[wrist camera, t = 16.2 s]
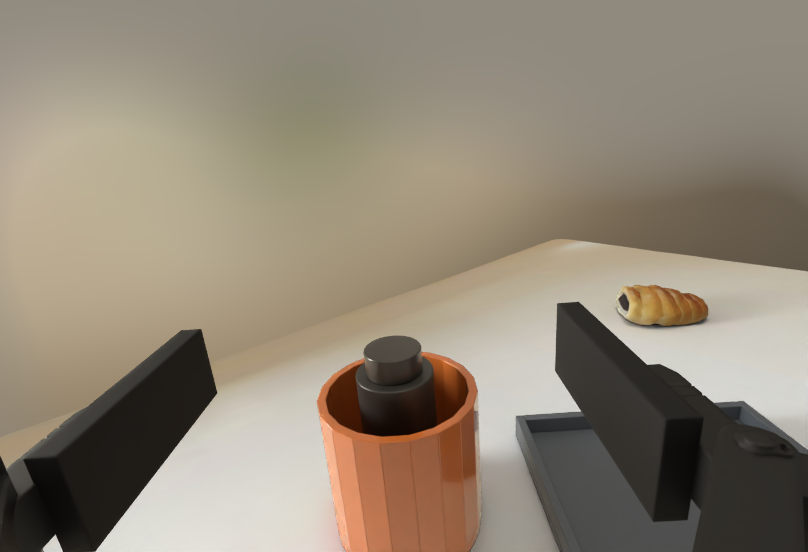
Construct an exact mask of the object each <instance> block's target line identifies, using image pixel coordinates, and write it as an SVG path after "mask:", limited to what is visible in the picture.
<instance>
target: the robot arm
mask: <svg viewBox="0 0 808 552" xmlns="http://www.w3.org/2000/svg"><path fill="white" fill-rule="evenodd" d="M555 371H556V373H557V374H558V376H559V377H560V379H561V381H562V382H563V384H564V385H565V387H566V388H567V390H568V391H569V393H570V394H571V396H572V397H573V399H574V401H575V402H576V404H577V405H578V407H579V408H580V410H581V411H582V413H583V414H584V416H585V418H586V419H587V421H588V422H589V424H590V425H591V427H592V428H593V430H594V431H595V433H596V434H597V436H598V438H599V439H600V441H601V442H602V444H603V445H604V447H605V448H606V450H607V451H608V453H609V454H610V456H611V458H612V459H613V461H614V462H615V464H616V465H617V467H618V468H619V470H620V471H621V473H622V475H623V476H624V478H625V479H626V481H627V482H628V484H629V485H630V487H631V488H632V490H633V491H634V493H635V495H636V496H637V498H638V499H639V501H640V502H641V504H642V505H643V507H644V508H645V510H646V511H647V513H648V515H649V516H650V518H651V519H652V521H653V522H664V521H683V520H688V515H689V509H690V502H691V499H692V500H693V502H694V503H695V504H696V505H697V507H698V508H699V509H700V510H701V513H700V518H699V522H698V527H697V531H696V536H695V541H694V545H693V550H692V552H808V454H803V453H799V452H798V450H797V449H796V448H795V447H794V446H793V445H792V444H791V443H790V442H789V441H787V440H786V439H784V438H782V437H780V436H779V435H777V434H775V433H773V432H770V431H767V430H765V429H762V428H759V427H754V426H749V425H745V424H738V423H737V422H735V421H734V420H733V419H732V418H731V417H730V416H728V415H727V414H726V413H725V412H724V411H722V410H721V409H720V408H719V407H718V406H717V405H715V404H714V403H713V402H712V401H711V400H709V399H708V398H707V397H706V396H703V395H702V393H701V392H700V391H699V390H698V389H696V388H695V387H694V386H691V383H689V382H688V381H687V380H686V379H685V378H683V377H682V376H681V375H680V374H679V373H677V372H675V371H673V370H671V369H669V368H667V367H665V366H663V365H660V364H655V365H647V364H646V363H644V362H643V361H642V360H641V359H640V358H639V357H638V356H637V355H636V354H635V353H634V352H633V351H631V350H630V349H629V348H628V347H627V346H626V345H625V344H624V343H623V342H622V341H621V340H619V339H618V338H617V337H616V336H615V335H614V334H613V333H612V332H611V331H610V330H609V329H608V328H606V327H605V326H604V325H603V324H602V323H601V322H600V321H599V320H598V319H597V318H596V317H595V316H593V315H592V314H591V313H590V312H589V311H588V310H587V309H586V308H585V307H584V306H583V305H582V304H580V303H579V302H571V303H557V330H556V362H555ZM216 394H217V390H216V386H215V382H214V378H213V374H212V370H211V366H210V362H209V358H208V354H207V350H206V347H205V342H204V338H203V334H202V330H201V329H196V330H181V331H180V332H179V333H178V334H176V335H175V336H174V337H172V338H171V339H170V340H169V341H168V342H166V343H165V344H164V345H163V346H161V347H160V348H159V349H158V350H157V351H155V352H154V353H153V354H152V355H150V356H149V357H148V358H147V359H146V360H144V361H143V362H142V363H141V364H139V365H138V366H137V367H136V368H135V369H133V370H132V371H131V372H130V373H128V374H127V375H126V376H125V377H123V378H122V379H121V380H120V381H119V382H117V383H116V384H115V385H114V386H112V387H111V388H110V389H109V390H107V391H106V392H105V393H104V394H103V395H101V396H100V397H99V398H98V399H96V400H95V401H94V402H93V403H91V404H90V405H89V406H88V407H86V408H84V409H82V410H80V411H79V412H77V413H75V414H74V415H72V416H71V417H70V418H69V419H67V420H66V421H65V422H64V423H62V424H61V425H60V426H59V428H56V429H55V430H54V431H53V432H51V433H50V434H49V435H48V436H47V438H46V439H43V440H41V441H40V442H39V443H38V444H36V445H35V446H34V447H33V448H31V449H30V450H29V451H28V452H26V453H25V454H24V455H23V456H21V457H20V458H19V459H18V460H16V461H15V462H14V463H13V464H11V465H10V466H9V467H8V468H5V466H4V463H3V461H2V459H1V457H0V552H44V551H43V549H42V548H43V547H44V546H45V545H46V544H47V543H48V542H49V541H50V540H51V539H52V537H53V536H54V535H55V534H56V536H57V539H58V541H59V543H60V545H61V548H62V550H63V552H95V551H96V550H97V548H98V547H99V546H100V545H101V543H102V542H103V541H104V539H105V538H106V537H107V535H108V534H109V533H110V532H111V530H112V529H113V528H114V526H115V525H116V524H117V522H118V521H119V520H120V519H121V517H122V516H123V515H124V513H125V512H126V511H127V510H128V508H129V507H130V506H131V504H132V503H133V502H134V500H135V499H136V498H137V497H138V495H139V494H140V493H141V491H142V490H143V489H144V488H145V486H146V485H147V484H148V482H149V481H150V480H151V478H152V477H153V476H154V475H155V473H156V472H157V471H158V469H159V468H160V467H161V465H162V464H163V463H164V462H165V460H166V459H167V458H168V456H169V455H170V454H171V453H172V451H173V450H174V449H175V447H176V446H177V445H178V443H179V442H180V441H181V440H182V438H183V437H184V436H185V434H186V433H187V432H188V431H189V429H190V428H191V427H192V425H193V424H194V423H195V421H196V420H197V419H198V418H199V416H200V415H201V414H202V412H203V411H204V410H205V408H206V407H207V406H208V405H209V403H210V402H211V401H212V399H213V398H214V397H215V396H216Z"/></svg>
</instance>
